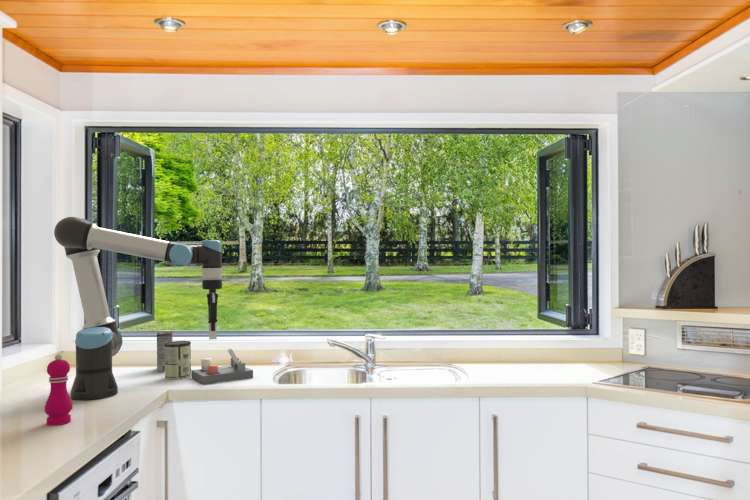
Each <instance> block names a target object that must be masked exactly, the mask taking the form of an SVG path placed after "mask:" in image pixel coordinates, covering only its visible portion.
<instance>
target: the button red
mask: <svg viewBox="0 0 750 500" xmlns="http://www.w3.org/2000/svg"><path fill="white" fill-rule="evenodd" d="M218 367H219V365H218V364H212V365H209V366H208V375H212V374H218Z"/></svg>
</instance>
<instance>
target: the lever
mask: <svg viewBox="0 0 750 500" xmlns="http://www.w3.org/2000/svg"><path fill="white" fill-rule="evenodd" d="M226 351H227V353H228V354H229V355H230V357H231V358H232V359H233V361H234V362H235V364H236V367H237V363H240V362H239V361H240V360H238V359H237V358H238V357H237V355H236V353H235V352H234V350H233V349H232V348H228V349H227V350H226Z"/></svg>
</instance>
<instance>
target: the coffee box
mask: <svg viewBox="0 0 750 500" xmlns="http://www.w3.org/2000/svg"><path fill="white" fill-rule="evenodd" d="M173 341H174V339H173V331H157V333H156V371H157V373H158V372H165V346H164V343H167V342H173Z"/></svg>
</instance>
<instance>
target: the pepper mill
mask: <svg viewBox="0 0 750 500" xmlns="http://www.w3.org/2000/svg"><path fill="white" fill-rule="evenodd" d="M62 358H63V356H62V355H61V354H59V353H58V354H55V356H54V359H55V360H52V361H50V362H49V363H48V364H47V366H46V373H47V374H48V375H49V377H48V383H50V392H49V395H48V396H47V397H48V398H47V400H46V402H45V405H44V413H45V414H46V415H47V417H46V425H47V426H61V425H67V424H69V423H70V422H72V421H71V420H72V419H71V418H72V416H71V414H70V412H71V411H72V410H73V401H72V398H71V397H70V395H69V392H68V389H67V381H69V375H68V373H70V370H71V365H70V363H69V362H68V361H67V360H66V359H62Z"/></svg>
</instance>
